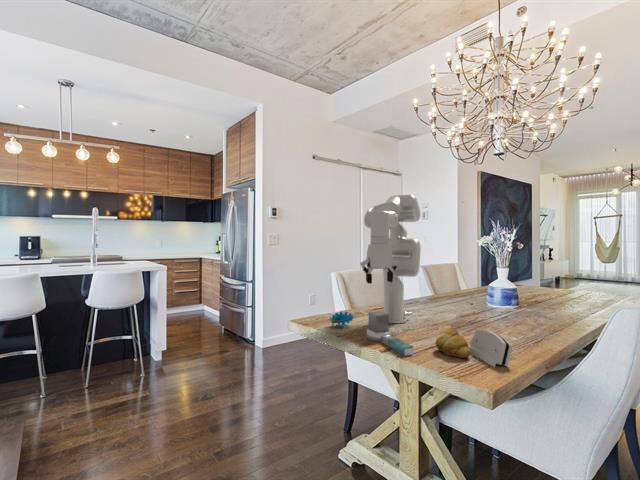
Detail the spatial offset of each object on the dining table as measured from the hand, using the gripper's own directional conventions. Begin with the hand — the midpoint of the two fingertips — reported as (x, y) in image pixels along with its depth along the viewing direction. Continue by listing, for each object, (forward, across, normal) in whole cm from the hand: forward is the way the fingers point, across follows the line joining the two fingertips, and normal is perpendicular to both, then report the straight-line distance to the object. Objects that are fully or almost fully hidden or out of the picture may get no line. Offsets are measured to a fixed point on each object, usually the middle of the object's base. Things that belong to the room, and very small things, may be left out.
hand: (379, 282), depth 138 cm
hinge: (+23, -24, +33) cm, 47 cm away
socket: (+20, +1, 0) cm, 20 cm away
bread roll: (+23, -15, +25) cm, 37 cm away
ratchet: (+23, +1, +9) cm, 24 cm away
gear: (+23, +8, -20) cm, 32 cm away
